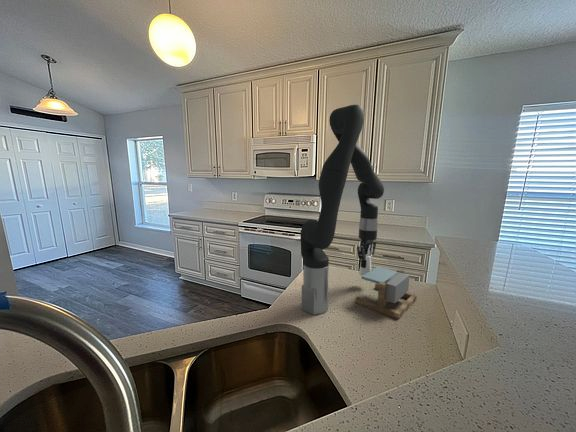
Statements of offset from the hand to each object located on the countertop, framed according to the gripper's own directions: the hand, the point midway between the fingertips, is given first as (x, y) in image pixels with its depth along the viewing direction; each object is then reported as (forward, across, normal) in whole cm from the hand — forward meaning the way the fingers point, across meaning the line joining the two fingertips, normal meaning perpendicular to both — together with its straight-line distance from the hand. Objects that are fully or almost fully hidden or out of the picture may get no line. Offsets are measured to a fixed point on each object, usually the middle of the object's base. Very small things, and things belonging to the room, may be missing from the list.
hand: (365, 266), depth 108 cm
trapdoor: (+6, +6, +12) cm, 15 cm away
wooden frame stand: (+10, +6, +13) cm, 17 cm away
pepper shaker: (+4, 0, 0) cm, 4 cm away
